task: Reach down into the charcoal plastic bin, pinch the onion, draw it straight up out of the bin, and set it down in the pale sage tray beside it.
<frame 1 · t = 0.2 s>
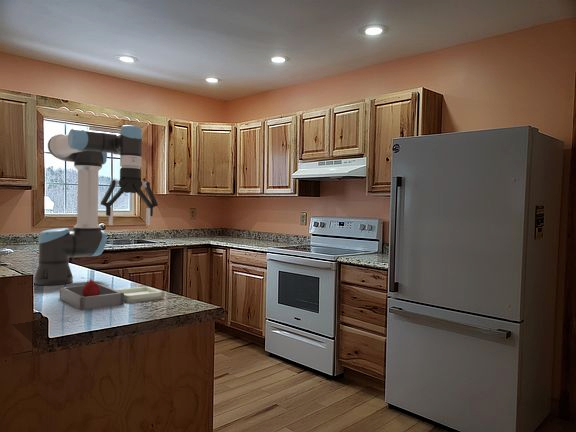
hand: (129, 225, 166), 27 cm above the countertop, fingers open, 13 cm apart
bin: (91, 301, 159), on the countertop
onion: (91, 302, 159), resting in bin
tray: (137, 297, 168), on the countertop
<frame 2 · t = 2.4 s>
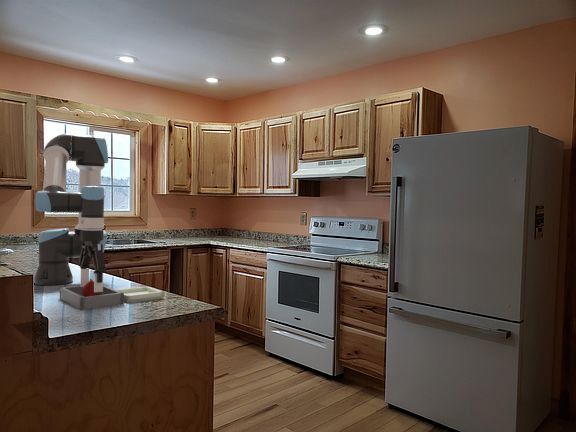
hand: (91, 289, 159), 4 cm above the countertop, fingers open, 13 cm apart
nothing on the countertop moved.
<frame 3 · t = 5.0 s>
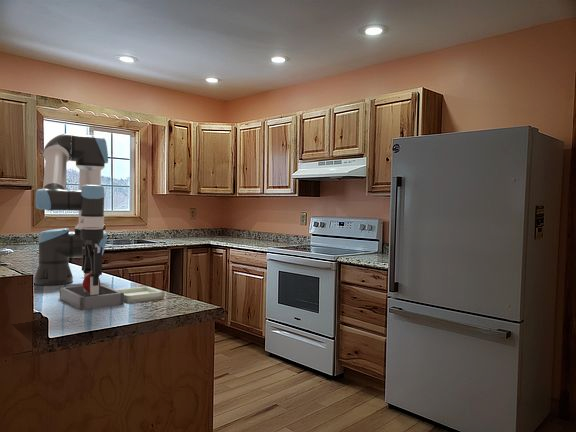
hand: (91, 292, 160), 3 cm above the countertop, fingers closed on onion, 6 cm apart
onion: (91, 294, 160), point 3 cm above the countertop, touching gripper
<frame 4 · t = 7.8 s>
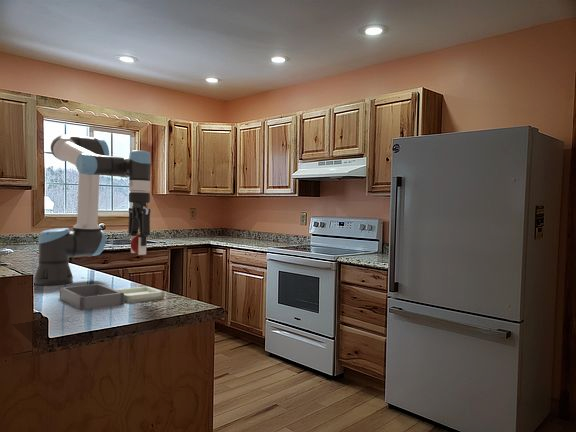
hand: (138, 253, 168), 17 cm above the countertop, fingers closed on onion, 6 cm apart
onion: (138, 254, 168), point 16 cm above the countertop, touching gripper
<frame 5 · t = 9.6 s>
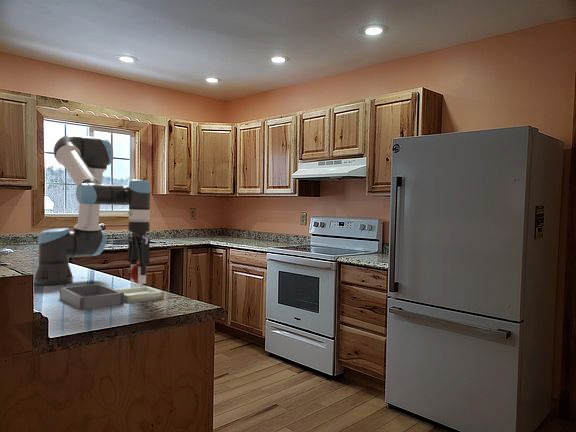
hand: (138, 282, 168), 6 cm above the countertop, fingers closed on onion, 6 cm apart
onion: (138, 283, 168), point 5 cm above the countertop, touching gripper
when the fingers open (2 cm above the countertop, at t = 11.1 s): onion stays where it is, resting on tray.
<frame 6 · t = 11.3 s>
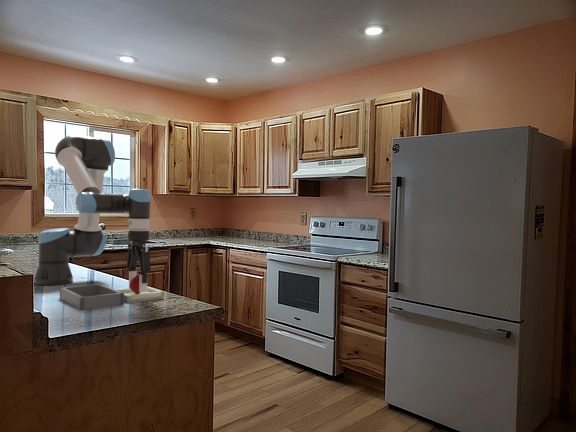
hand: (137, 289, 168), 3 cm above the countertop, fingers open, 8 cm apart
onion: (137, 295, 168), point 1 cm above the countertop, touching tray
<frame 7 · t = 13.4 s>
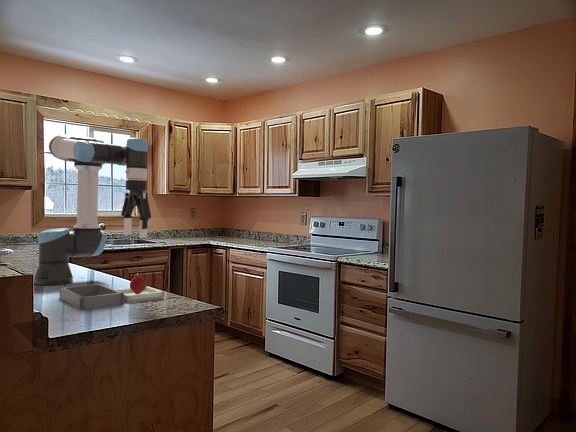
hand: (135, 236, 168), 23 cm above the countertop, fingers open, 13 cm apart
nothing on the countertop moved.
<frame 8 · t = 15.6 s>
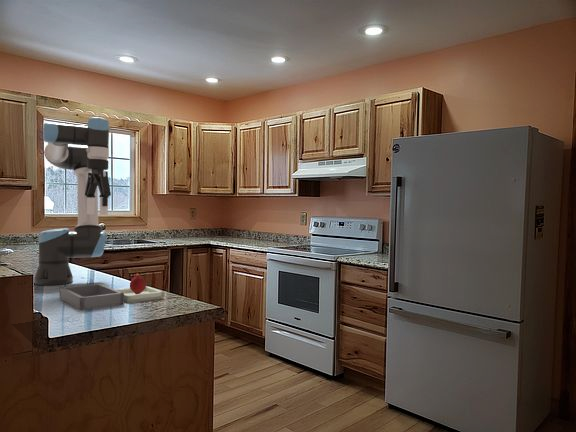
hand: (96, 214, 171), 31 cm above the countertop, fingers open, 13 cm apart
nothing on the countertop moved.
at the end: onion inside the target area on the tray (0.0 cm from its centre), point 0.8 cm above the tray's base; the gripper is holding nothing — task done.
